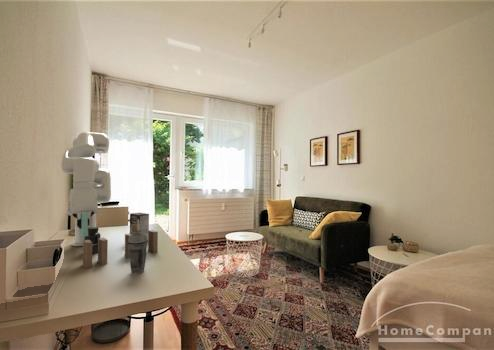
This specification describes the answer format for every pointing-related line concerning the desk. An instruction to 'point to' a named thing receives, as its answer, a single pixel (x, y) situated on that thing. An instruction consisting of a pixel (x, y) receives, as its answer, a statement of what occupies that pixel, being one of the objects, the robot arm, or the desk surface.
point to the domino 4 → (152, 241)
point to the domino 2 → (102, 250)
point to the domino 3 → (127, 245)
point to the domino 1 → (87, 253)
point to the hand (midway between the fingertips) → (83, 227)
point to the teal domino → (83, 225)
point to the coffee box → (142, 222)
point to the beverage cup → (137, 250)
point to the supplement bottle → (93, 238)
